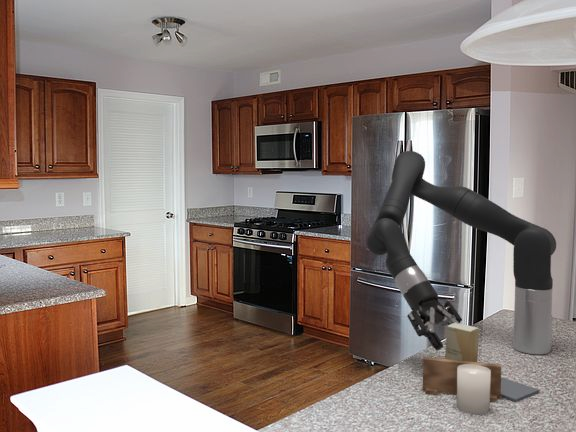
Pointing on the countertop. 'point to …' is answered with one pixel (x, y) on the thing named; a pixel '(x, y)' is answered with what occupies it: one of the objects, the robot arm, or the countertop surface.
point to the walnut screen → (455, 376)
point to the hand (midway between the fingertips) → (451, 344)
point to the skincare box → (462, 342)
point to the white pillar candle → (473, 389)
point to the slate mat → (516, 390)
